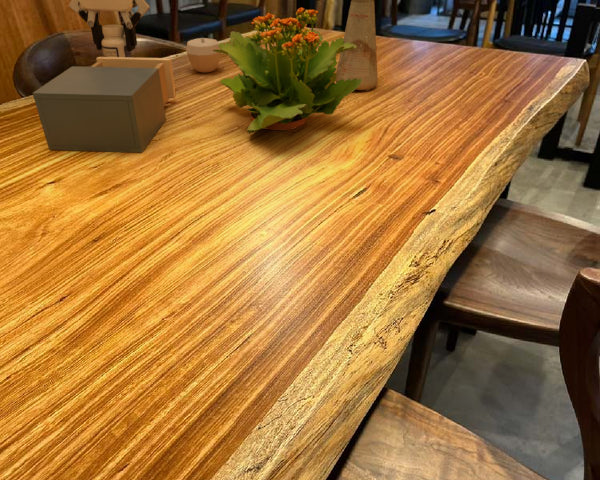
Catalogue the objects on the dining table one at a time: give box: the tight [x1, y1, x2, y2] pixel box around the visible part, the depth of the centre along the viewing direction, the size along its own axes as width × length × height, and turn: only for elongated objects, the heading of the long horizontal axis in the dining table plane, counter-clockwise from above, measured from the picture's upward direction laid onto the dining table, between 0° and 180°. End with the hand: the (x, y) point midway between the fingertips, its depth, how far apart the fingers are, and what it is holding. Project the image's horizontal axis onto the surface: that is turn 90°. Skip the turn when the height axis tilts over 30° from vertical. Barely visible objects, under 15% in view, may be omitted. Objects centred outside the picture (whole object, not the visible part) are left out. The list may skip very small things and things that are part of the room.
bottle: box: [335, 0, 379, 91], centre depth 102 cm, size 9×9×28 cm
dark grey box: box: [32, 65, 167, 154], centre depth 85 cm, size 15×15×9 cm
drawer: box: [90, 56, 177, 105], centre depth 96 cm, size 18×13×7 cm
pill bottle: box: [101, 23, 133, 58], centre depth 105 cm, size 5×5×9 cm
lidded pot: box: [185, 37, 222, 74], centre depth 117 cm, size 8×8×7 cm
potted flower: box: [213, 7, 362, 135], centre depth 89 cm, size 25×24×18 cm
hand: (116, 48), depth 105 cm, fingers closed on pill bottle, 5 cm apart
